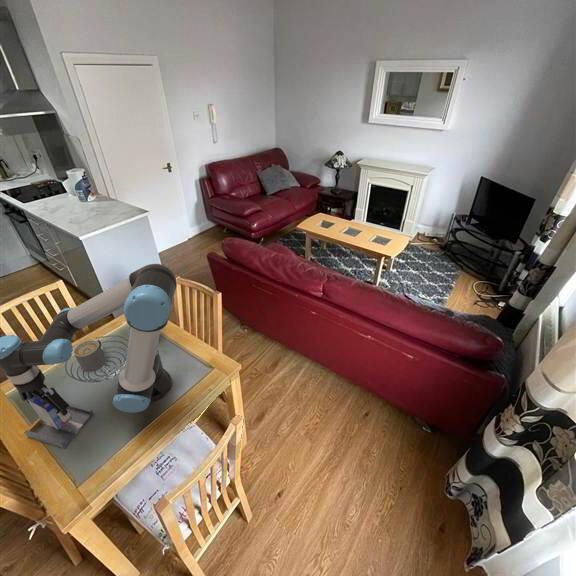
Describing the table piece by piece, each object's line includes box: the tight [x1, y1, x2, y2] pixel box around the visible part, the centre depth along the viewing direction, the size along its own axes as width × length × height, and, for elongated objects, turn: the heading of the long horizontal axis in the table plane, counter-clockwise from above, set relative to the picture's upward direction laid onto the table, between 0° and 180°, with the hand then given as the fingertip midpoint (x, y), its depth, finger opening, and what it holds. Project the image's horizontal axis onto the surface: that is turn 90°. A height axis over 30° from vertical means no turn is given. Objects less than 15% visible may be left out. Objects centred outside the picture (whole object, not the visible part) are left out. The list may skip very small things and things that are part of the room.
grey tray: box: [23, 402, 95, 449], centre depth 114 cm, size 16×14×3 cm
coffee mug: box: [72, 338, 107, 373], centre depth 138 cm, size 13×10×10 cm
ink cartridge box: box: [28, 394, 72, 429], centre depth 108 cm, size 10×6×14 cm, turn 67°
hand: (54, 415), depth 111 cm, fingers closed on ink cartridge box, 10 cm apart
